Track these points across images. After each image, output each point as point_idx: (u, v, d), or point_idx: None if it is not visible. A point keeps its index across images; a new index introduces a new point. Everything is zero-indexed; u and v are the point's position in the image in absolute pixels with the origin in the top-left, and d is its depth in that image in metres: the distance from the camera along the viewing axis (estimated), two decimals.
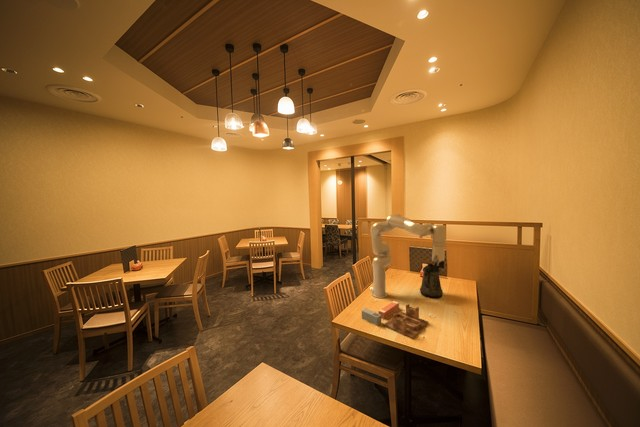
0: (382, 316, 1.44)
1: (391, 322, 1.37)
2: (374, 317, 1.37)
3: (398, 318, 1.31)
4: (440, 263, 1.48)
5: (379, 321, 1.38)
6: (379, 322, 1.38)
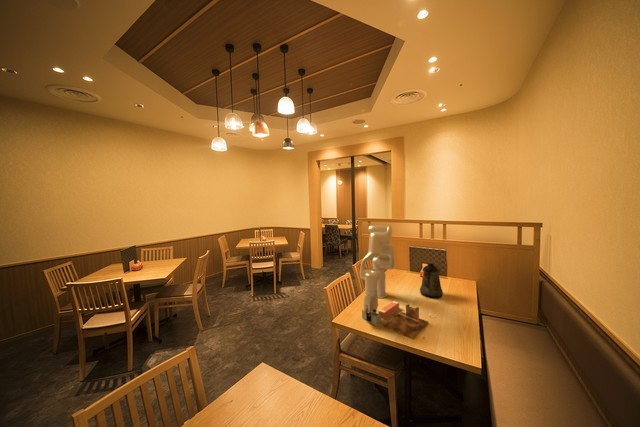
0: (382, 316, 1.44)
1: (391, 322, 1.37)
2: (373, 317, 1.37)
3: (398, 318, 1.31)
4: None
5: (378, 321, 1.37)
6: (378, 322, 1.37)
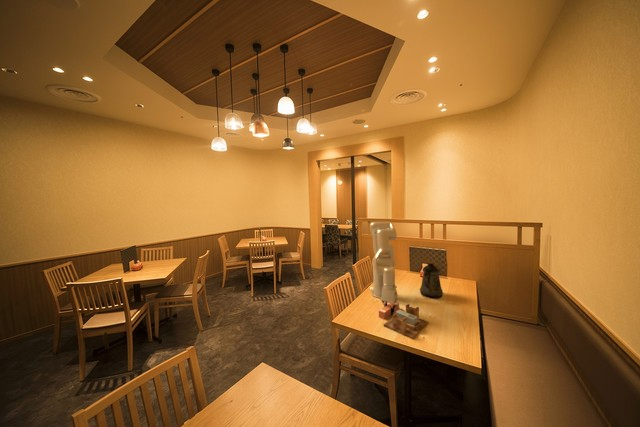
0: (382, 316, 1.44)
1: (391, 322, 1.37)
2: (410, 319, 1.32)
3: (398, 318, 1.31)
4: None
5: (415, 323, 1.32)
6: (415, 324, 1.32)
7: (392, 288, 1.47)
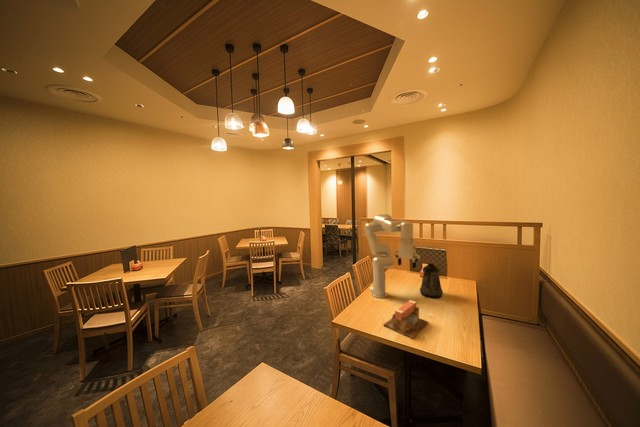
0: (399, 317, 1.28)
1: (391, 322, 1.37)
2: (410, 319, 1.32)
3: None
4: None
5: (415, 323, 1.32)
6: (415, 324, 1.32)
7: (410, 242, 1.41)
